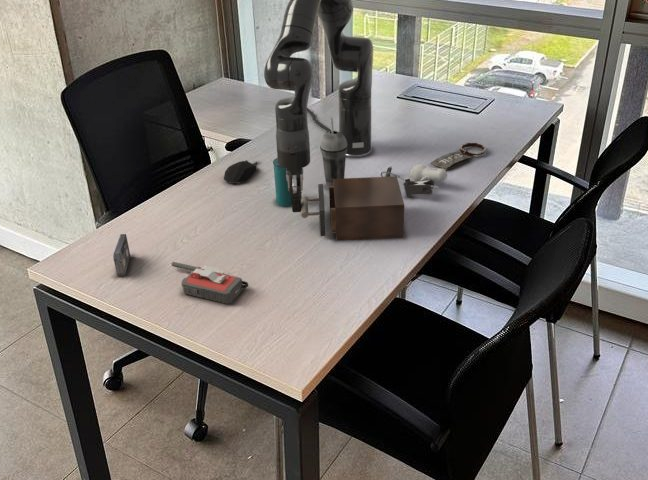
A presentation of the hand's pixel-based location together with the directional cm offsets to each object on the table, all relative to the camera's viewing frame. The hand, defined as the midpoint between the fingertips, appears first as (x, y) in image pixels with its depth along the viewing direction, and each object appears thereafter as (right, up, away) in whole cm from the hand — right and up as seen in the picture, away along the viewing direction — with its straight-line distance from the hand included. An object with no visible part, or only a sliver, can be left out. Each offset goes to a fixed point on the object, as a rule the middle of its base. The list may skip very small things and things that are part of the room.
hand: (296, 210), depth 175 cm
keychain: (+45, +17, +33) cm, 58 cm away
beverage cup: (+9, +7, +20) cm, 23 cm away
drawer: (+11, -2, +2) cm, 11 cm away
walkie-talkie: (-19, -17, -18) cm, 32 cm away
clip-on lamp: (+29, +7, +19) cm, 35 cm away
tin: (-3, +3, +13) cm, 14 cm away
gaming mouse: (-16, +12, +28) cm, 34 cm away
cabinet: (+17, -3, +3) cm, 18 cm away
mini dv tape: (-38, -13, -11) cm, 42 cm away
